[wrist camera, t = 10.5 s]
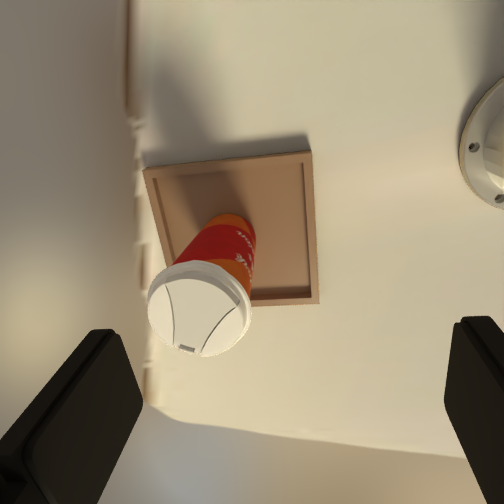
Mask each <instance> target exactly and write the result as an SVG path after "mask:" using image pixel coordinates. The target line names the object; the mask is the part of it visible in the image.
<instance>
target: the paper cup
mask: <svg viewBox="0 0 504 504" xmlns="http://www.w3.org/2000/svg"><path fill="white" fill-rule="evenodd" d="M255 250H256V235H255V232H254V229H253V227H252V226H251V224H250V223H249V222H248V221H247V220H245V219H244V218H243V217H241V216H238V215H235V214H221V215H218V216H216V217H214V218H213V219H211V220H210V221H209V222H208V223H207V224H206V225H205V226H204V227H203V229H202V230H201V231H200V232H199V233H198V234H197V235H196V237H195V238H194V239H193V240H192V241H191V243H190V244H189V245H188V246H187V247H186V248H185V250H184V251H183V252H182V253H181V254H180V256H179V257H178V258H177V259H176V260H175V262H174V263H173V264H172V265H171V266H170V267H168V268H166V269H164V270H163V271H162V272H160V273H159V274H158V275H157V276H156V278H155V279H154V280H153V282H152V284H151V286H150V288H149V292H148V318H149V321H150V324H151V326H152V328H153V330H154V332H155V333H156V335H157V336H158V337H159V338H160V339H161V340H162V341H163V342H164V343H165V344H166V345H168V346H169V347H171V348H172V346H173V345H174V347H177V348H179V350H180V351H183V352H186V353H190V354H193V353H196V354H200V353H201V355H200V357H207V356H214V355H217V354H220V353H223V352H225V351H226V350H228V349H230V348H231V347H232V346H233V345H234V344H235V343H236V342H237V341H238V340H239V339H240V338H242V337H243V335H244V334H245V333H246V331H247V329H248V327H249V325H250V322H251V316H252V309H251V303H250V300H249V299H250V291H251V283H252V276H253V268H254V259H255Z"/></svg>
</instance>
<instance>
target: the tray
mask: <svg viewBox="0 0 504 504" xmlns="http://www.w3.org/2000/svg"><path fill="white" fill-rule="evenodd" d="M142 172H143V176H144V180H145V184H146V188H147V192H148V195H149V199H150V203H151V207H152V211H153V215H154V219H155V223H156V227H157V231H158V235H159V239H160V242H161V246H162V250H163V254H164V258H165V262H166V266H167V268H168V267H170V266H171V265H172V264H173V263H174V262H175V260H176V259H177V258H178V257H179V256H180V254H181V253H182V252H183V251H184V250H185V248H186V247H187V246H188V245H189V244H190V243H191V241H192V240H193V239H194V238H195V237H196V235H197V234H198V233H199V232H200V231H201V230H202V229H203V227H204V226H205V225H206V224H207V223H208V222H209V221H210V220H211V219H213V218H214V217H216V216H218V215H221V214H235V215H238V216H241V217H243V218H244V219H245V220H247V221H248V222H249V223H250V224H251V226H252V227H253V229H254V232H255V235H256V250H255V259H254V268H253V276H252V283H251V291H250V299H249V300H250V303H251V307H256V306H280V305H304V304H320V302H319V282H318V263H317V243H316V223H315V204H314V184H313V164H312V151H311V150H306V151H297V152H288V153H278V154H269V155H259V156H250V157H241V158H231V159H222V160H213V161H203V162H194V163H184V164H175V165H166V166H156V167H147V168H146V169H144V170H142Z"/></svg>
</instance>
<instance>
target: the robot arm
mask: <svg viewBox="0 0 504 504" xmlns="http://www.w3.org/2000/svg"><path fill="white" fill-rule="evenodd" d="M471 143H472V147H471V148H469V145H470V144H471ZM459 159H460V167H461V171H462V175H463V177H464V179H465V181H466V183H467V185H468V186H469V188H470V189H471V190H472V191H473V192H474V193H475V194H476V195H477V196H478V197H480V198H481V199H482V200H484V201H485V202H487V203H489V204H490V205H492V206H494V207H496V208H500V209H503V210H504V77H503V78H502V79H500V80H499V81H498V82H497V83H496V84H495V85H494V86H493V87H492V88H491V89H490V90H489V91H487V92H486V94H485V95H484V96H483V97H482V99H481V100H480V101H479V102H478V104H477V105H476V106H475V108H474V110H473V111H472V113H471V115H470V117H469V119H468V120H467V123H466V125H465V128H464V131H463V134H462V137H461V143H460V149H459ZM496 196H497V197H496ZM495 197H496V198H495ZM444 404H445V409H446V412H447V414H448V417H449V419H450V421H451V423H452V426H453V428H454V430H455V432H456V435H457V437H458V439H459V441H460V444H461V446H462V448H463V450H464V453H465V455H466V457H467V459H468V462H469V464H470V466H471V468H472V471H473V473H474V475H475V477H476V479H477V482H478V484H479V486H480V489H481V491H482V493H483V495H484V498H485V500H486V502H487V504H504V333H503V332H502V330H501V329H500V328H499V327H498V325H497V324H496V323H495V322H494V320H493V319H492V318H491V317H489V316H467V317H463V318H462V319H461V322H460V323H455V324H454V327H453V334H452V342H451V349H450V357H449V364H448V372H447V379H446V386H445V394H444ZM142 406H143V398H142V395H141V392H140V389H139V387H138V384H137V381H136V378H135V375H134V373H133V370H132V367H131V364H130V362H129V359H128V356H127V354H126V351H125V348H124V345H123V342H122V340H121V337H120V335H118V334H116V333H115V331H114V330H112V329H96V330H91V331H90V332H89V333H88V334H87V336H86V337H85V338H84V339H83V340H82V342H81V343H80V344H79V345H78V346H77V348H76V349H75V350H74V351H73V352H72V354H71V355H70V356H69V357H68V359H67V360H66V361H65V362H64V363H63V365H62V366H61V367H60V368H59V369H58V371H57V372H56V373H55V374H54V376H53V377H52V378H51V379H50V381H49V382H48V383H47V384H46V385H45V386H44V388H43V389H42V390H41V391H40V392H39V394H38V395H37V396H36V397H35V399H34V400H33V401H32V402H31V403H30V404H29V406H28V407H27V408H26V409H25V410H24V412H23V413H22V414H21V415H20V417H19V418H18V419H17V420H16V421H15V423H14V424H13V425H12V426H11V427H10V429H9V430H8V431H7V432H6V433H5V435H4V436H3V437H2V438H1V440H0V504H97V503H98V501H99V499H100V497H101V495H102V492H103V490H104V488H105V486H106V484H107V482H108V480H109V478H110V475H111V473H112V471H113V469H114V467H115V465H116V463H117V461H118V459H119V457H120V455H121V452H122V450H123V448H124V446H125V444H126V442H127V440H128V438H129V436H130V433H131V431H132V429H133V427H134V425H135V423H136V421H137V418H138V417H139V414H140V412H141V410H142Z"/></svg>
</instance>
